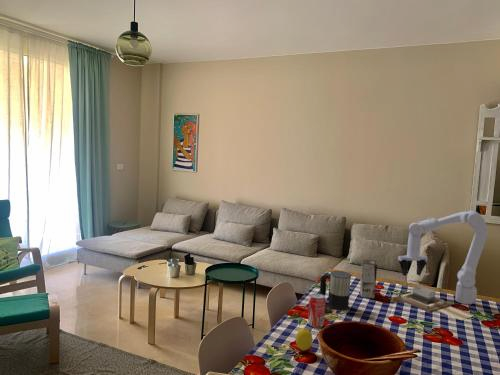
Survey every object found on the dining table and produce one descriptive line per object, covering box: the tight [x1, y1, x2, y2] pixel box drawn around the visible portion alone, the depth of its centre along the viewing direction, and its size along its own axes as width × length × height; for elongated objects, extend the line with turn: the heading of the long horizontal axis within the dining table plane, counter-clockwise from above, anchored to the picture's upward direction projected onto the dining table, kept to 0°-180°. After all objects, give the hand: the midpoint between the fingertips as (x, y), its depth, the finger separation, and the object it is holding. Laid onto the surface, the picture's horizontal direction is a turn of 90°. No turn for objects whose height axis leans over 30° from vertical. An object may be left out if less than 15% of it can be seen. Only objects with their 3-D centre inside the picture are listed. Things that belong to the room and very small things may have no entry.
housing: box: [412, 285, 436, 304], centre depth 183 cm, size 5×8×6 cm, turn 34°
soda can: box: [307, 292, 327, 329], centre depth 155 cm, size 6×6×12 cm
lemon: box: [295, 327, 313, 352], centre depth 135 cm, size 6×6×8 cm
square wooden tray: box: [392, 291, 453, 313], centre depth 183 cm, size 18×18×3 cm
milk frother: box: [319, 270, 352, 313], centre depth 173 cm, size 14×16×15 cm
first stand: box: [436, 305, 476, 321], centre depth 171 cm, size 11×11×2 cm
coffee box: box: [359, 259, 378, 299], centre depth 193 cm, size 9×6×16 cm
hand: (411, 275), depth 193 cm, fingers open, 7 cm apart
